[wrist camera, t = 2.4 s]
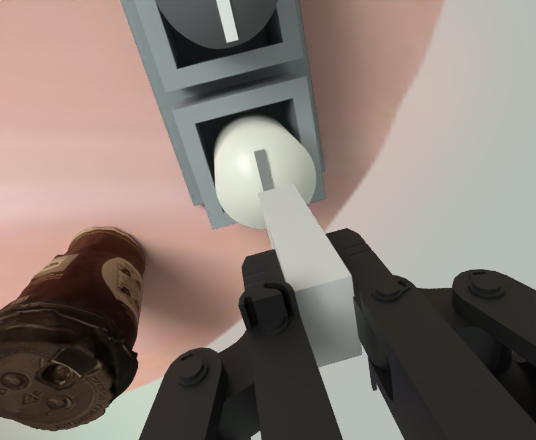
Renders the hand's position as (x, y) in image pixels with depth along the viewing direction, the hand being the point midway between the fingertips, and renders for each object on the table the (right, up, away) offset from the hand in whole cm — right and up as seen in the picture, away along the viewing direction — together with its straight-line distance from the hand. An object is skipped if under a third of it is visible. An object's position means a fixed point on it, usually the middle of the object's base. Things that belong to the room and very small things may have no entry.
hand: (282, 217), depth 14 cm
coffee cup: (-14, -3, +15) cm, 21 cm away
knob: (-2, +4, +8) cm, 10 cm away
